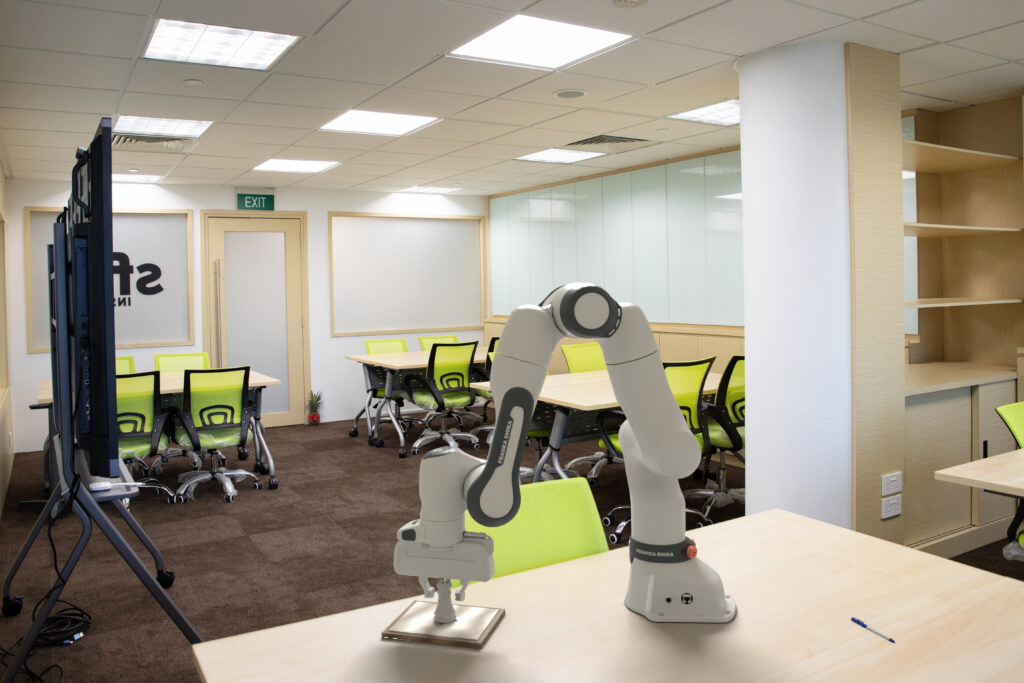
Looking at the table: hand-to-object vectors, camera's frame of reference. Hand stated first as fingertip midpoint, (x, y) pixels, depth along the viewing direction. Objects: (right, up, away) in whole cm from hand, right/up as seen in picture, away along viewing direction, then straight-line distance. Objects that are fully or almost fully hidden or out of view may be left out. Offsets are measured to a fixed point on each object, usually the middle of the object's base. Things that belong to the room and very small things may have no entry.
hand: (444, 598), depth 150 cm
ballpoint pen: (+82, -5, -6) cm, 82 cm away
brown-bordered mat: (0, -5, 0) cm, 5 cm away
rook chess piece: (0, -4, 0) cm, 4 cm away
